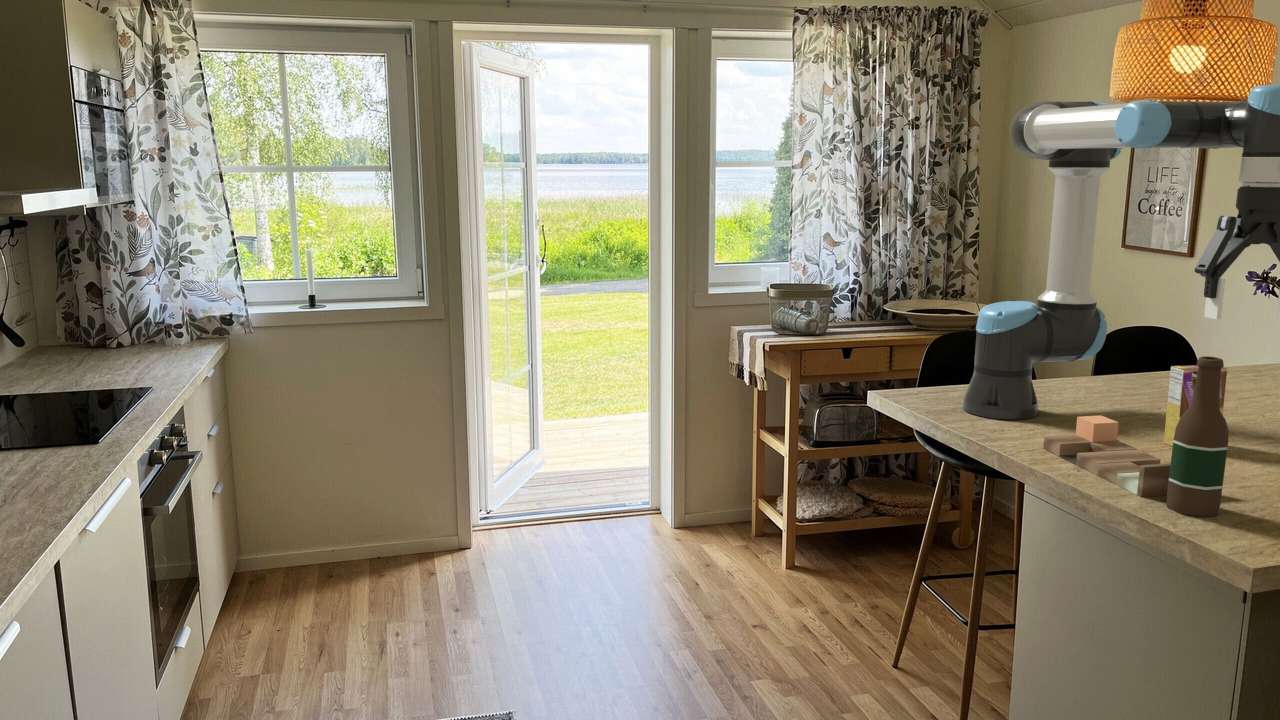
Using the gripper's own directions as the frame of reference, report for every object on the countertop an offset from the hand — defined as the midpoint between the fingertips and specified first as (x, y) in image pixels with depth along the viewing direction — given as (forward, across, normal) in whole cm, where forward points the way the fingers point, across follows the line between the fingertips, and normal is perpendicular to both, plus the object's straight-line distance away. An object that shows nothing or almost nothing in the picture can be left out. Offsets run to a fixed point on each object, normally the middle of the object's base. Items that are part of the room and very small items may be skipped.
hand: (1248, 317), depth 160 cm
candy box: (+28, +9, +19) cm, 35 cm away
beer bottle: (+28, -16, -11) cm, 34 cm away
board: (+28, -14, +9) cm, 33 cm away
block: (+26, -11, +20) cm, 34 cm away
